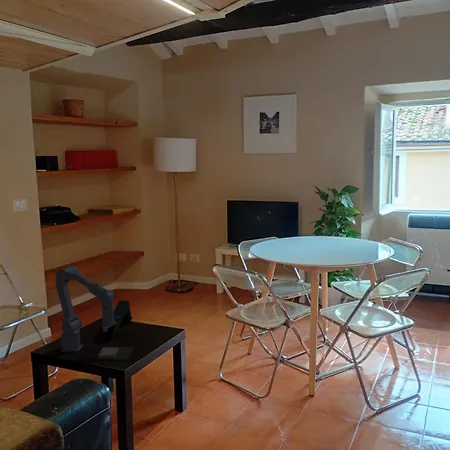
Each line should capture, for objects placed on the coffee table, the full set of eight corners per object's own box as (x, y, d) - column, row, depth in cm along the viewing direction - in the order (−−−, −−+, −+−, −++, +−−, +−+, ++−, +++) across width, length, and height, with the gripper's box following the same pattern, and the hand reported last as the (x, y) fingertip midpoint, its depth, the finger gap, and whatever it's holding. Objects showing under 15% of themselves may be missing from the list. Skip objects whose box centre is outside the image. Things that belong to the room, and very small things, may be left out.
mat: (95, 360, 238) (95, 359, 238) (103, 348, 253) (103, 347, 253) (127, 360, 238) (127, 359, 238) (133, 348, 253) (133, 347, 253)
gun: (133, 317, 294) (129, 297, 287) (117, 350, 268) (112, 329, 262) (123, 317, 295) (118, 297, 288) (106, 350, 269) (101, 329, 263)
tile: (103, 350, 249) (98, 358, 240) (103, 347, 248) (98, 355, 240) (118, 350, 248) (114, 358, 240) (118, 347, 248) (113, 355, 239)
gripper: (112, 319, 237) (113, 345, 239) (119, 309, 251) (120, 334, 253) (97, 319, 237) (99, 345, 239) (105, 309, 251) (107, 334, 253)
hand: (109, 340), depth 246 cm, fingers closed
